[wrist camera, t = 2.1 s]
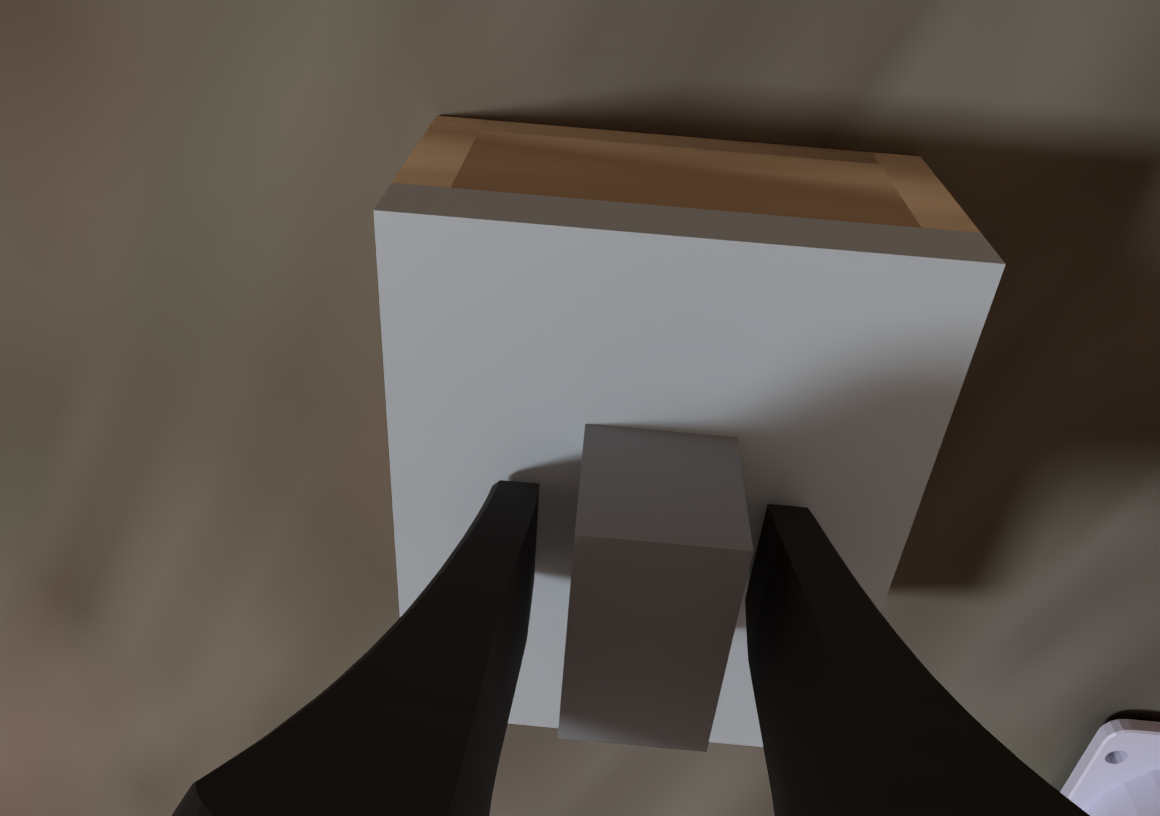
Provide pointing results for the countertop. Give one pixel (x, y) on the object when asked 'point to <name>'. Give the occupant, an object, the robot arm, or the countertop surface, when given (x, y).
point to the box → (682, 173)
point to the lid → (661, 422)
